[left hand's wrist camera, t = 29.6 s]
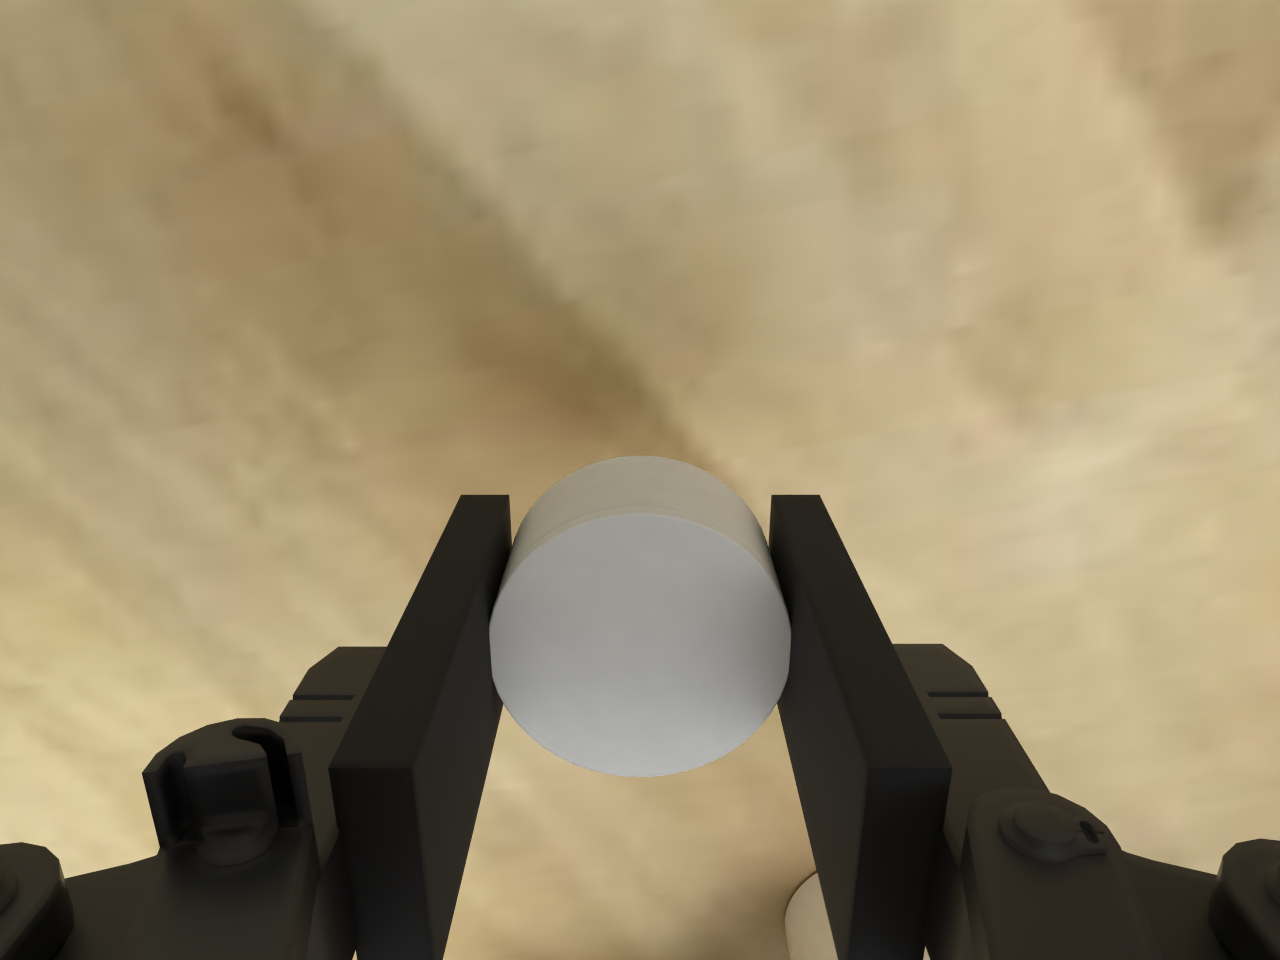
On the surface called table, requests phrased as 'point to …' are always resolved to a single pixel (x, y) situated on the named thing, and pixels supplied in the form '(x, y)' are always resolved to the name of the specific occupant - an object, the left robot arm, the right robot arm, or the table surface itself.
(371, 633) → the table surface
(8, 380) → the table surface
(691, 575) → the cap
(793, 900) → the bottle
